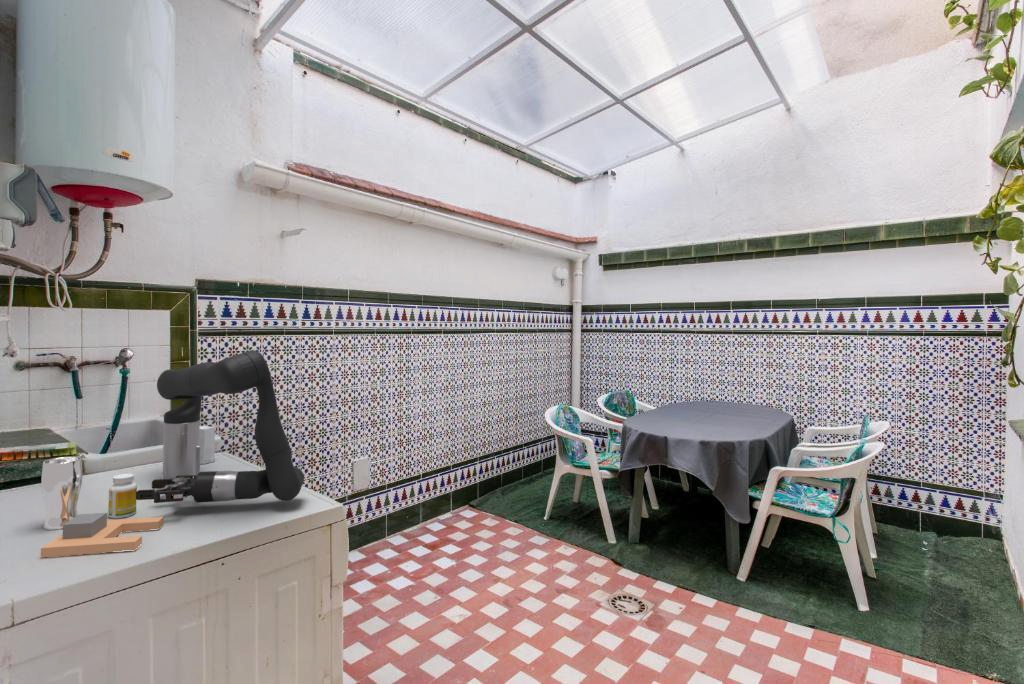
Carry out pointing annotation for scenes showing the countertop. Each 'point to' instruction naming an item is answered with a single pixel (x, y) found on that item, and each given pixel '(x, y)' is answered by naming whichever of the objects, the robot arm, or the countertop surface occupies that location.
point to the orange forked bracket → (98, 535)
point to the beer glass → (61, 490)
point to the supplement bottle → (122, 496)
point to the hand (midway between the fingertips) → (144, 489)
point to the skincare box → (207, 444)
